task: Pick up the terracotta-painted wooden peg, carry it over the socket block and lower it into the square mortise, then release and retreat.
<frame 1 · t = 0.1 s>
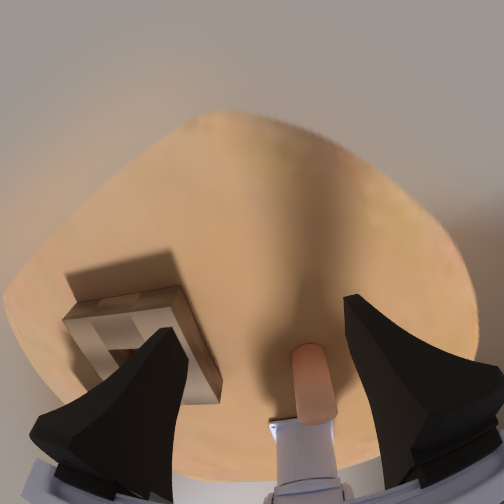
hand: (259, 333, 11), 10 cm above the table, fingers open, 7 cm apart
peg: (308, 355, 25), on the table
socket: (147, 345, 25), on the table
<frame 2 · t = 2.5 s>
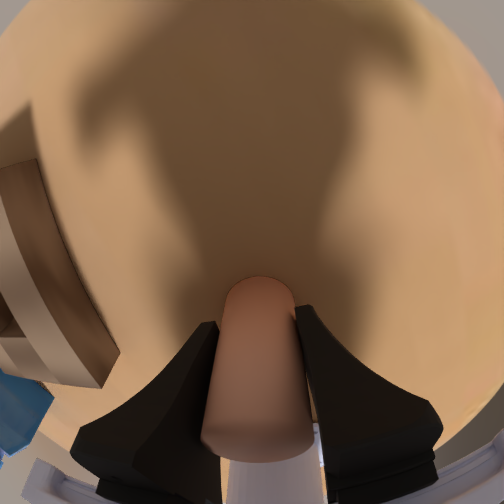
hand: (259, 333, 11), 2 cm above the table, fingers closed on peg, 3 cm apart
peg: (259, 306, 13), on the table, touching gripper
socket: (18, 281, 13), on the table
perfume bottle: (28, 384, 19), on the table
when the fingers open (4 cm above the table, at t = 5.8 s): peg drops 2 cm, resting in socket.
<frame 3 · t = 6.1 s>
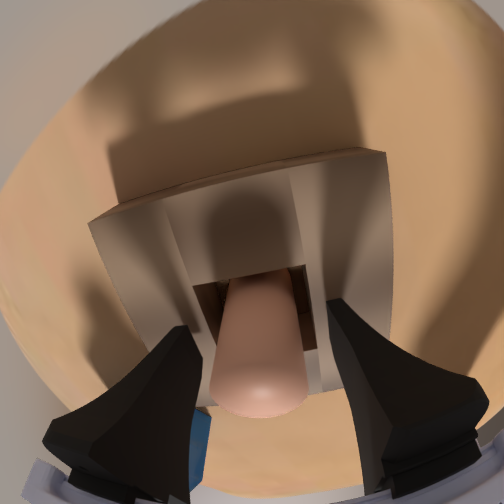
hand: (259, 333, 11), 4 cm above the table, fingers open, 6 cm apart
peg: (260, 284, 14), resting in socket
socket: (260, 285, 14), on the table
perfume bottle: (162, 409, 20), on the table
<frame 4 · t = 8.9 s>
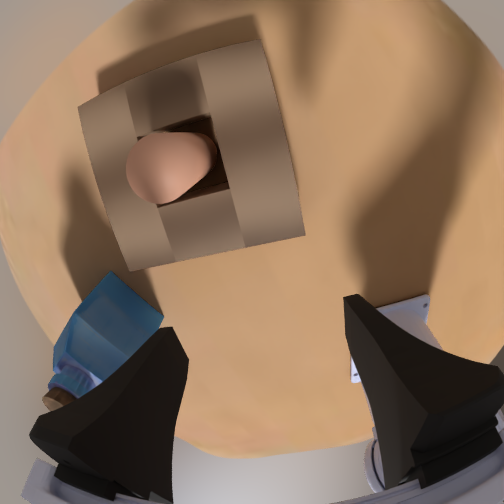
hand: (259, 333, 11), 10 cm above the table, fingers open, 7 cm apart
peg: (193, 155, 18), resting in socket
socket: (193, 156, 18), on the table
perfume bottle: (122, 311, 24), on the table
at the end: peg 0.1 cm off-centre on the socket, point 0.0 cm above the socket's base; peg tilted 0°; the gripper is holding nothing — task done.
